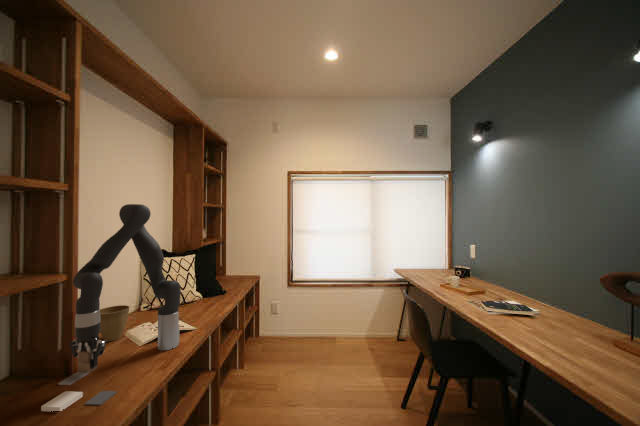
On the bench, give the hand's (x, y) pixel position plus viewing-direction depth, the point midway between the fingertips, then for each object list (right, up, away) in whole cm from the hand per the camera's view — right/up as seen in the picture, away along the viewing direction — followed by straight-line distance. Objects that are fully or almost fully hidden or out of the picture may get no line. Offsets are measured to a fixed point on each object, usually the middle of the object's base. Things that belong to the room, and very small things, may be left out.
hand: (88, 367), depth 105 cm
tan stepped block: (0, -1, -4) cm, 4 cm away
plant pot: (-23, -9, +43) cm, 49 cm away
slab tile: (0, -7, -6) cm, 9 cm away
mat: (+11, -7, -7) cm, 15 cm away
